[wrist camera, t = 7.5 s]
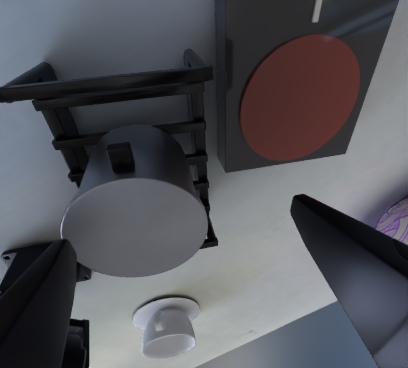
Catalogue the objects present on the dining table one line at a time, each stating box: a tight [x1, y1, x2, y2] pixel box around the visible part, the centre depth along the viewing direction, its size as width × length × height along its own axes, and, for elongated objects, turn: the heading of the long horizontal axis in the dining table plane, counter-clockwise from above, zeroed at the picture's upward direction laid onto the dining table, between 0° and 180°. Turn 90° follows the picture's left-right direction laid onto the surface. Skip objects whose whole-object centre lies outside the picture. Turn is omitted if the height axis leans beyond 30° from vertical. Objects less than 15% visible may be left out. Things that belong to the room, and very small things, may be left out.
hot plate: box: [239, 34, 360, 161], centre depth 18 cm, size 9×9×1 cm
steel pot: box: [60, 125, 208, 277], centre depth 15 cm, size 9×7×6 cm
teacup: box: [133, 298, 200, 359], centre depth 35 cm, size 10×10×5 cm
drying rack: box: [0, 49, 218, 249], centre depth 18 cm, size 14×10×6 cm
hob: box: [215, 0, 399, 173], centre depth 16 cm, size 18×11×3 cm, turn 3°
